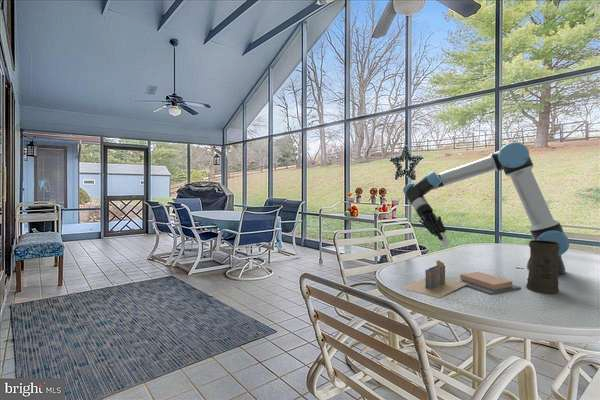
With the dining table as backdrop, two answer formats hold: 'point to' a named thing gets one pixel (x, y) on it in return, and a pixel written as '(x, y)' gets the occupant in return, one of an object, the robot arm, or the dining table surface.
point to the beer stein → (543, 267)
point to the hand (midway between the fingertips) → (447, 245)
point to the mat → (490, 289)
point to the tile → (486, 280)
